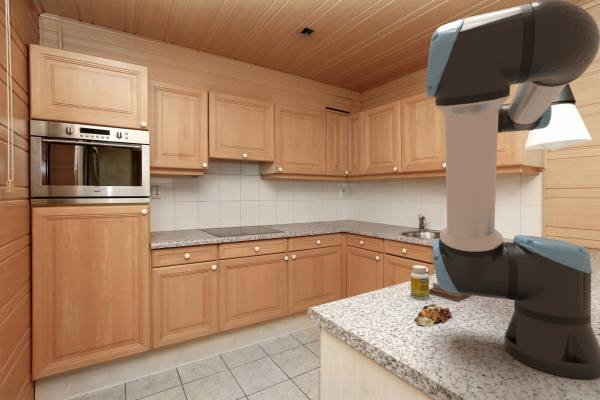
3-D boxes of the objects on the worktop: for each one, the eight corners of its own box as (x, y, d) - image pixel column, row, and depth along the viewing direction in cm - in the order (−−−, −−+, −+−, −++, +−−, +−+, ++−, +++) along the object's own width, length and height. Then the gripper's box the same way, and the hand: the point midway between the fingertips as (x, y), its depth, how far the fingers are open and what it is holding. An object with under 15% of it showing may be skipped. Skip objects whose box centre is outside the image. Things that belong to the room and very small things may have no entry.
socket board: (456, 301, 91) (456, 291, 91) (429, 293, 98) (429, 284, 98) (476, 293, 98) (476, 283, 98) (449, 286, 105) (449, 277, 105)
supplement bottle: (419, 293, 99) (419, 263, 99) (433, 298, 94) (432, 267, 94) (407, 296, 97) (406, 265, 97) (420, 301, 92) (420, 269, 92)
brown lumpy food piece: (409, 324, 77) (409, 310, 77) (427, 310, 86) (427, 298, 86) (438, 332, 72) (438, 317, 72) (453, 317, 81) (453, 303, 81)
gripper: (477, 154, 83) (477, 231, 84) (483, 161, 104) (484, 223, 104) (447, 157, 88) (447, 230, 88) (458, 163, 108) (459, 223, 109)
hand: (467, 227), depth 96 cm, fingers open, 13 cm apart
